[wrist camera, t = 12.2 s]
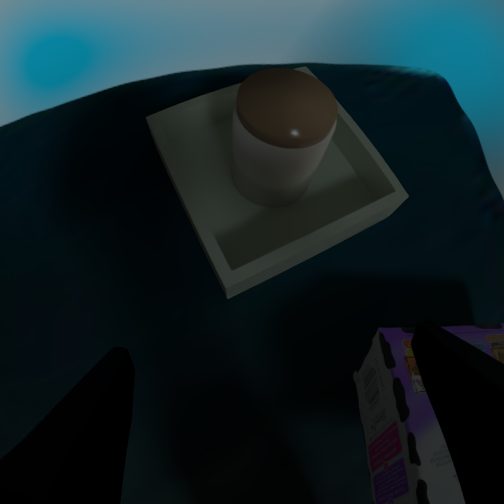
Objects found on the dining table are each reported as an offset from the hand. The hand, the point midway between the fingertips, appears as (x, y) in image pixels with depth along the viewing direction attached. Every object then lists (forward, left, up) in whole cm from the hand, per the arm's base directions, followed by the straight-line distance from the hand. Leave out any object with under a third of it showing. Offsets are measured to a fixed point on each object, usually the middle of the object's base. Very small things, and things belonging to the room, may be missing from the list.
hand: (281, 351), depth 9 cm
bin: (+12, -7, -14) cm, 19 cm away
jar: (+12, -7, -13) cm, 19 cm away
